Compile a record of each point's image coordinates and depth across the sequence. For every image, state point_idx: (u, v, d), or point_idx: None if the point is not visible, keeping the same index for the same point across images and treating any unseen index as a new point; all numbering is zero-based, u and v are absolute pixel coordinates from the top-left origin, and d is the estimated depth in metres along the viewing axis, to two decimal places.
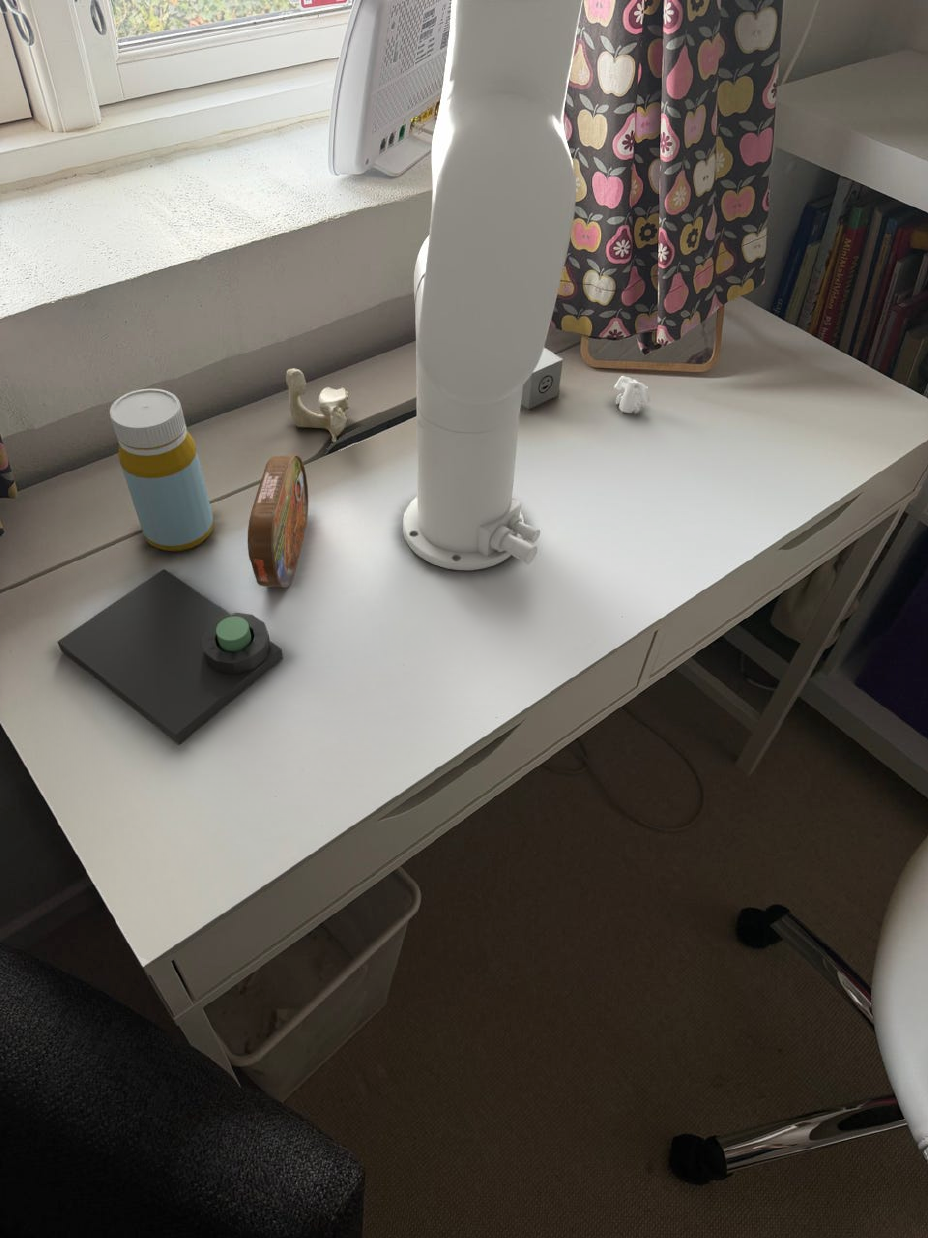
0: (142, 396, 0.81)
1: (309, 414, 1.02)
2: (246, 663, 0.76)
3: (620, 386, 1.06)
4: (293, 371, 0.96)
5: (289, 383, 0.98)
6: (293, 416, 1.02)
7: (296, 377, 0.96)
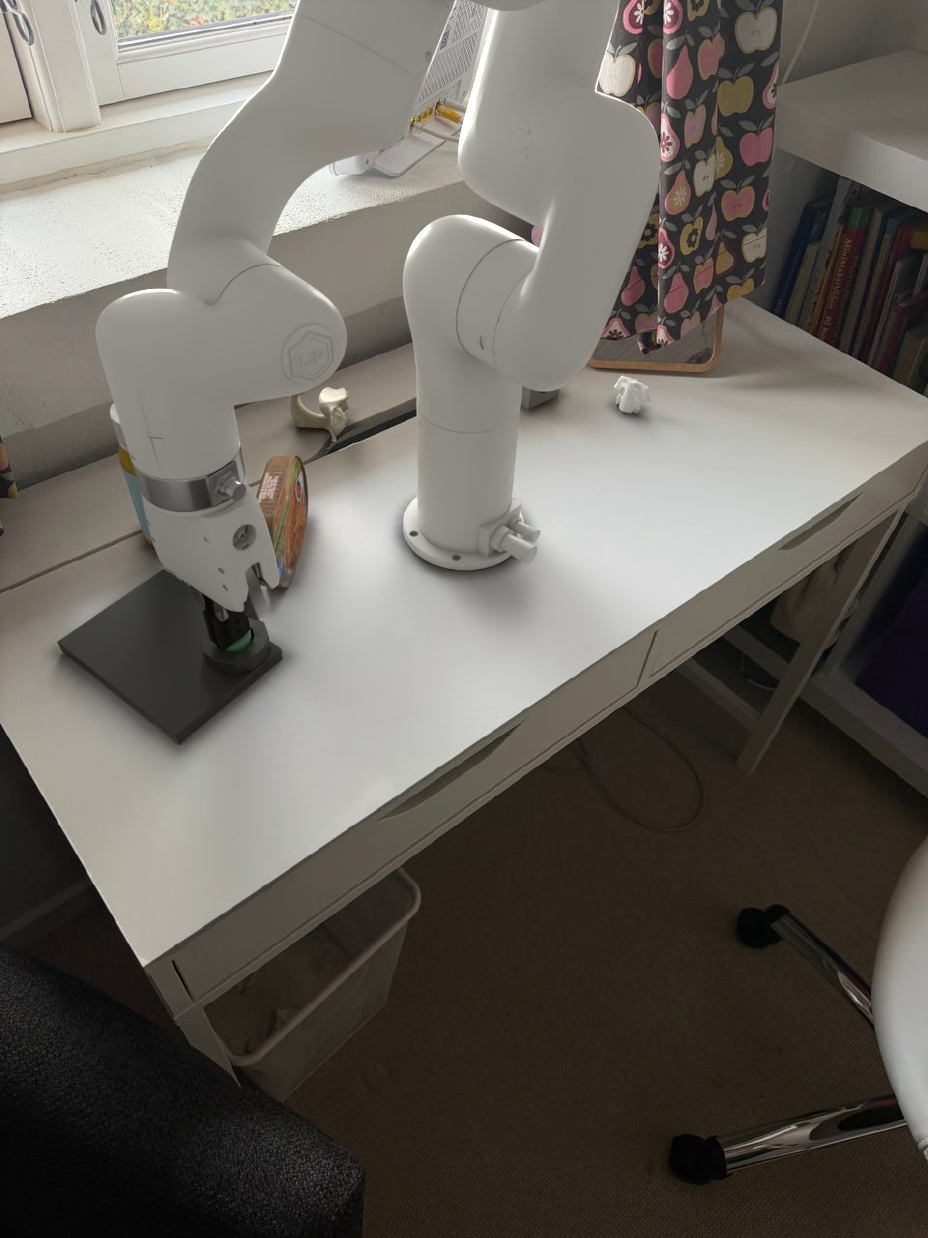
0: None
1: (309, 414, 1.02)
2: (246, 663, 0.76)
3: (620, 386, 1.06)
4: None
5: None
6: (293, 416, 1.02)
7: None
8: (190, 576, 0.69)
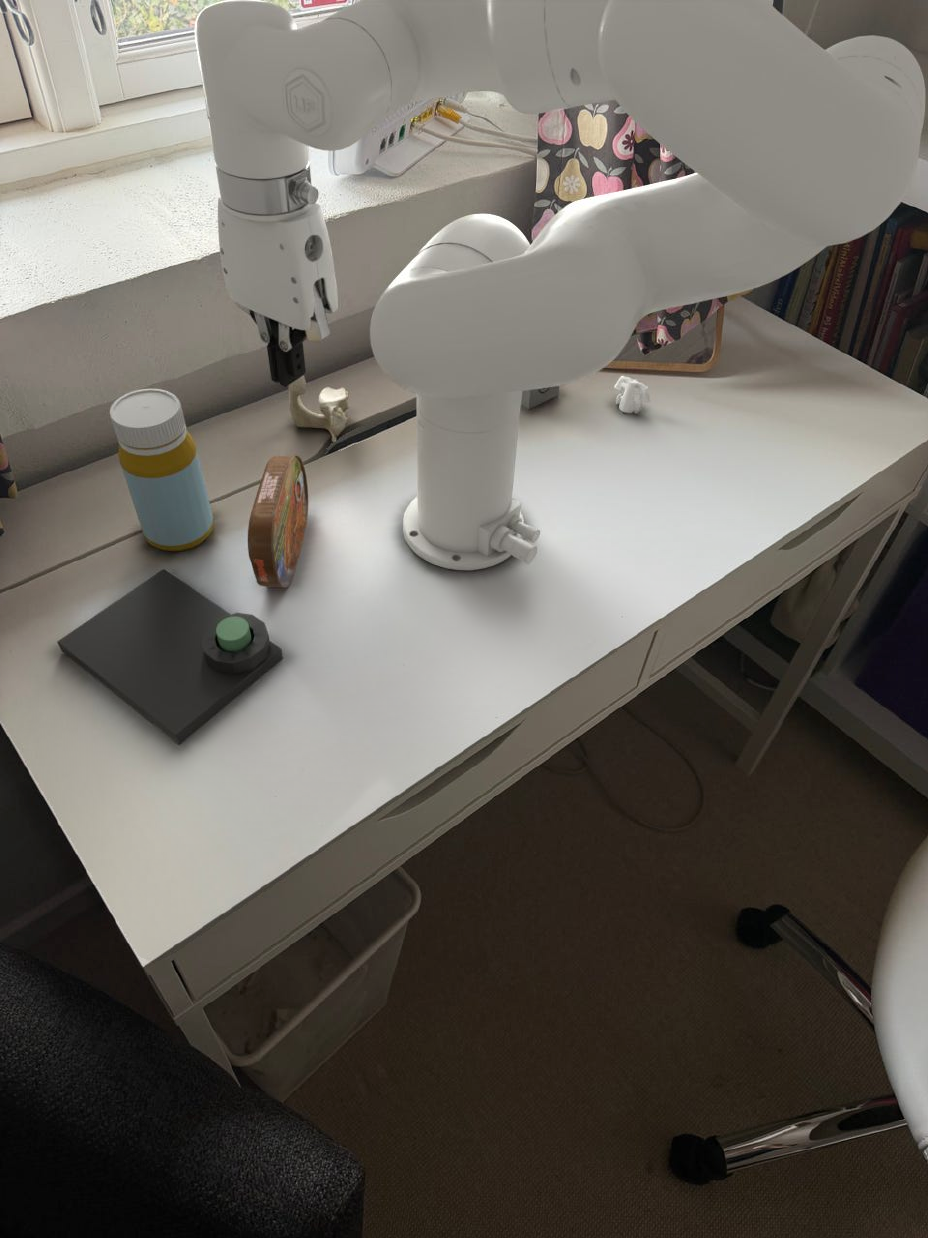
0: (142, 396, 0.81)
1: (309, 414, 1.02)
2: (246, 663, 0.76)
3: (620, 386, 1.06)
4: None
5: None
6: (293, 416, 1.02)
7: None
8: (260, 300, 0.78)
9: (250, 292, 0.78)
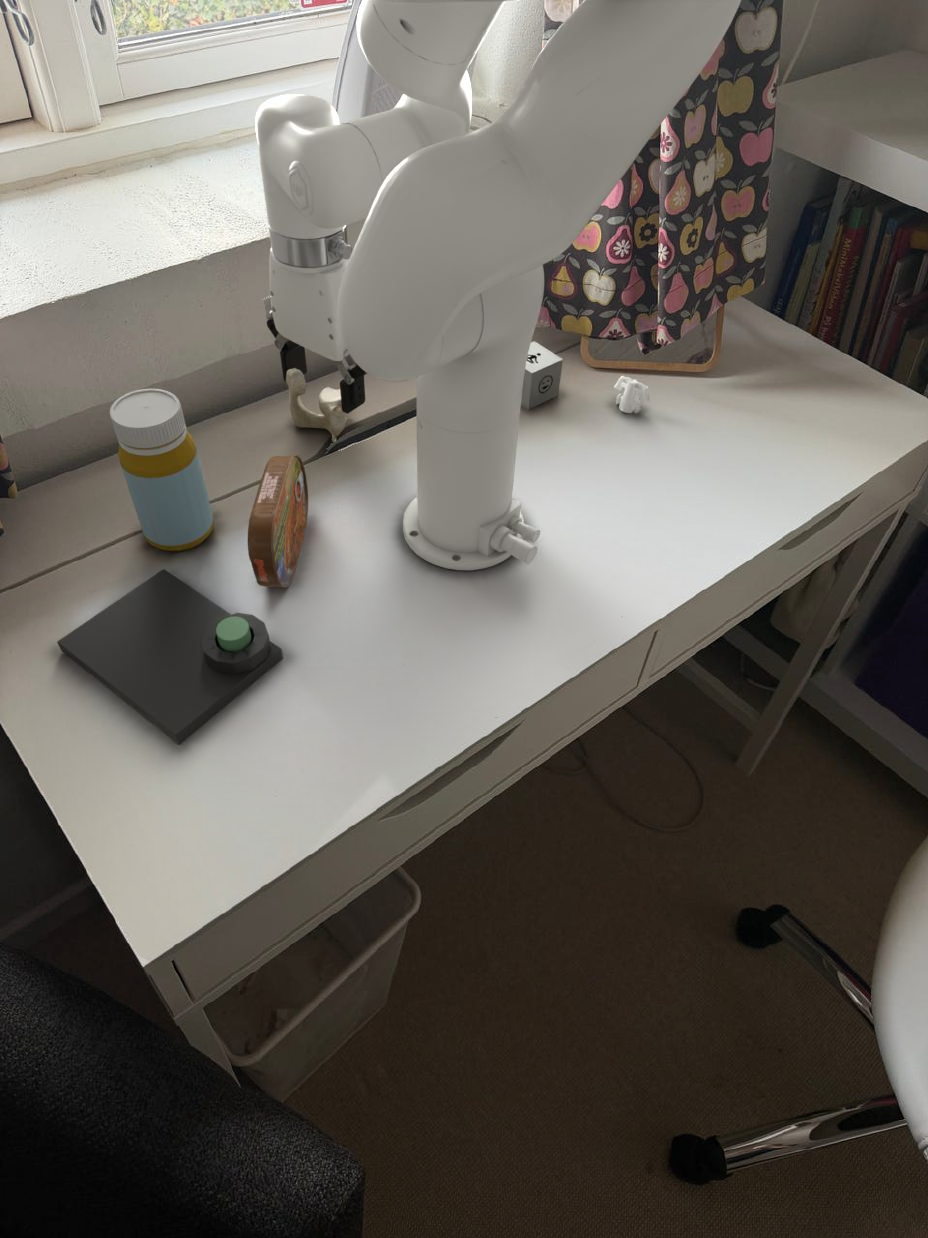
0: (142, 396, 0.81)
1: (309, 414, 1.02)
2: (246, 663, 0.76)
3: (620, 386, 1.06)
4: (293, 371, 0.96)
5: (289, 383, 0.98)
6: (293, 416, 1.02)
7: (296, 377, 0.96)
8: (302, 335, 0.92)
9: (294, 328, 0.93)
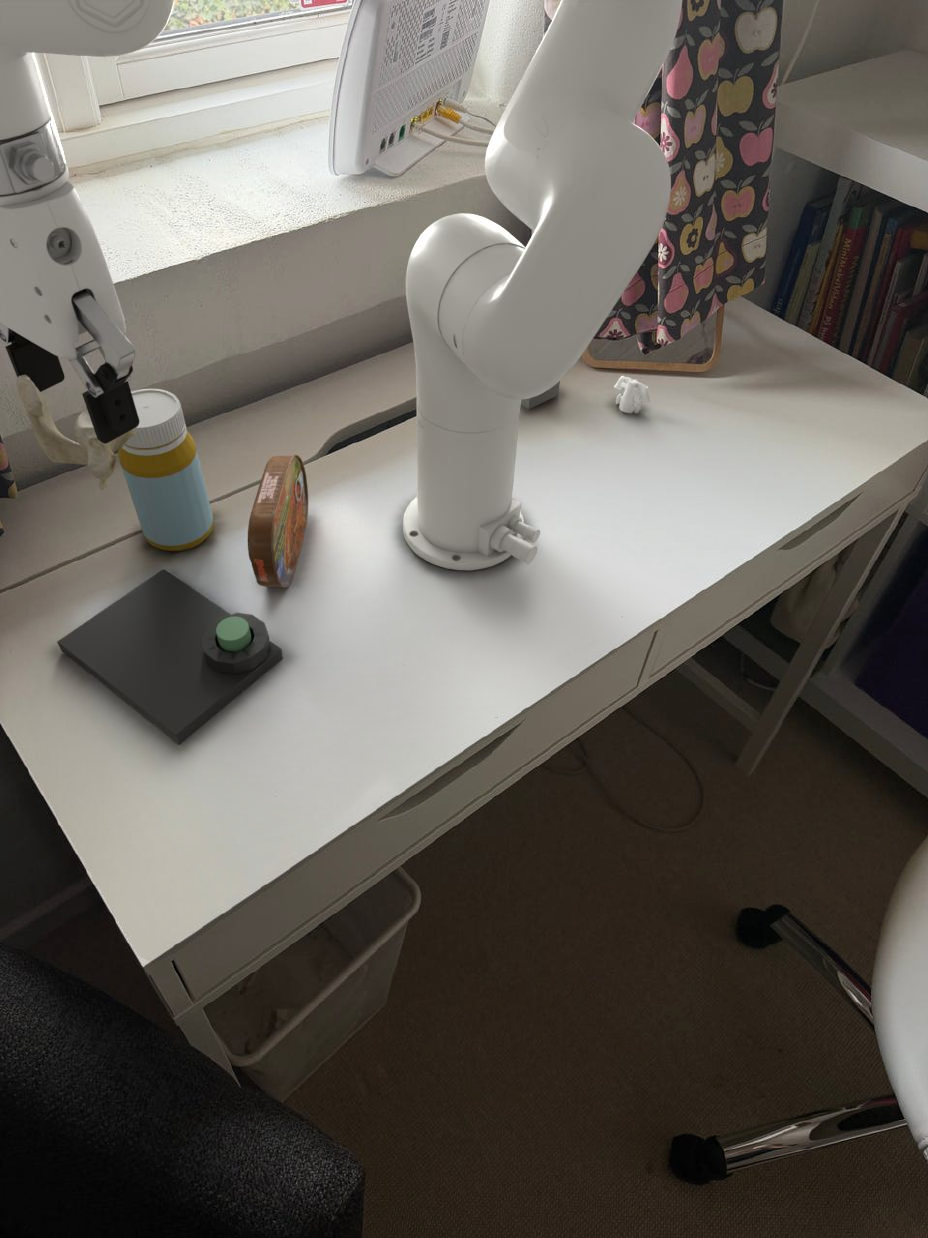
0: (142, 396, 0.81)
1: (67, 444, 0.66)
2: (246, 663, 0.76)
3: (620, 386, 1.06)
4: (20, 380, 0.60)
5: (21, 398, 0.62)
6: (42, 447, 0.66)
7: (25, 390, 0.60)
8: (14, 316, 0.57)
9: (1, 306, 0.57)
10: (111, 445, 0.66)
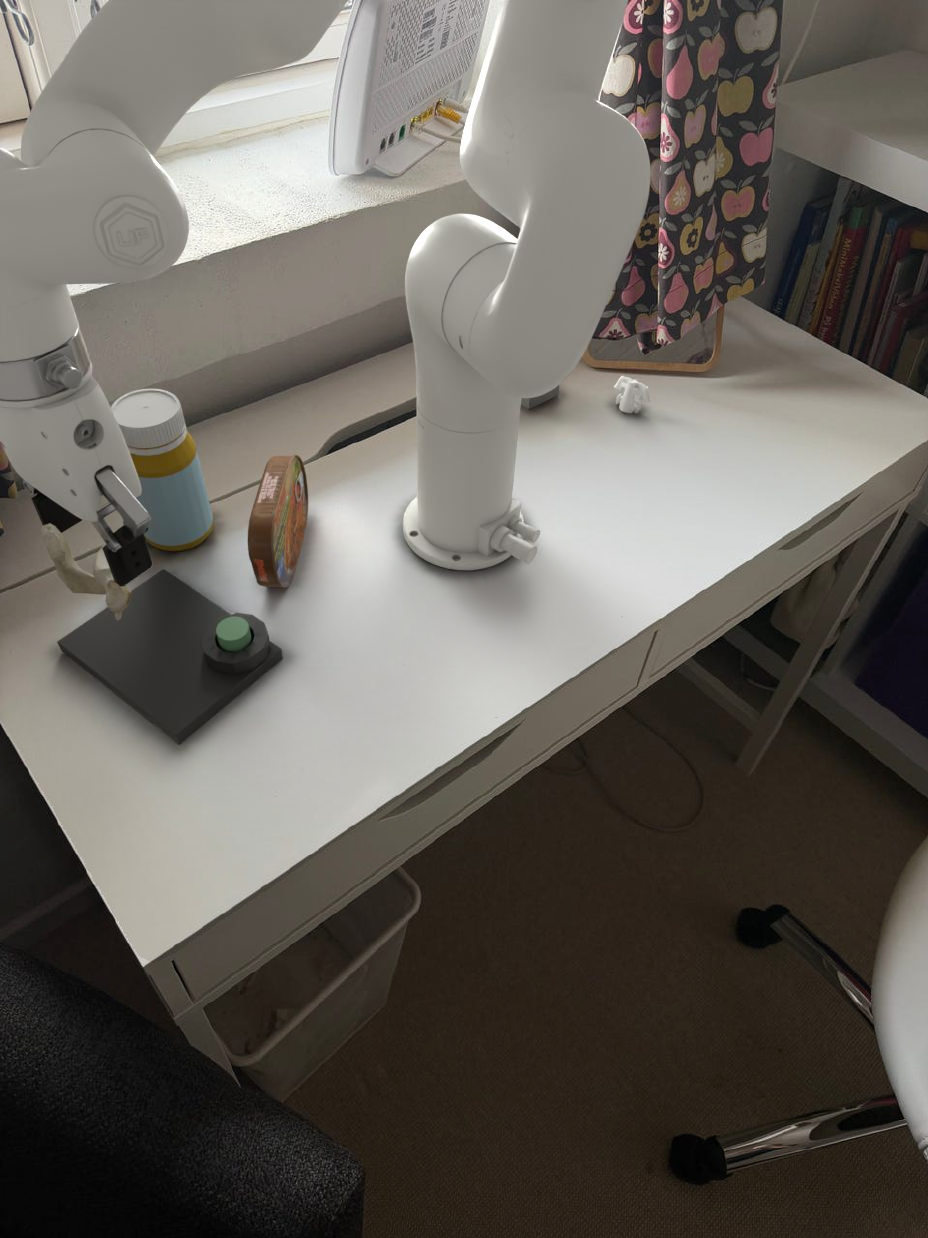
0: (142, 396, 0.81)
1: (85, 578, 0.73)
2: (246, 663, 0.76)
3: (620, 386, 1.06)
4: (45, 532, 0.67)
5: (45, 544, 0.69)
6: (63, 580, 0.73)
7: (49, 541, 0.67)
8: (41, 484, 0.63)
9: (30, 474, 0.64)
10: None
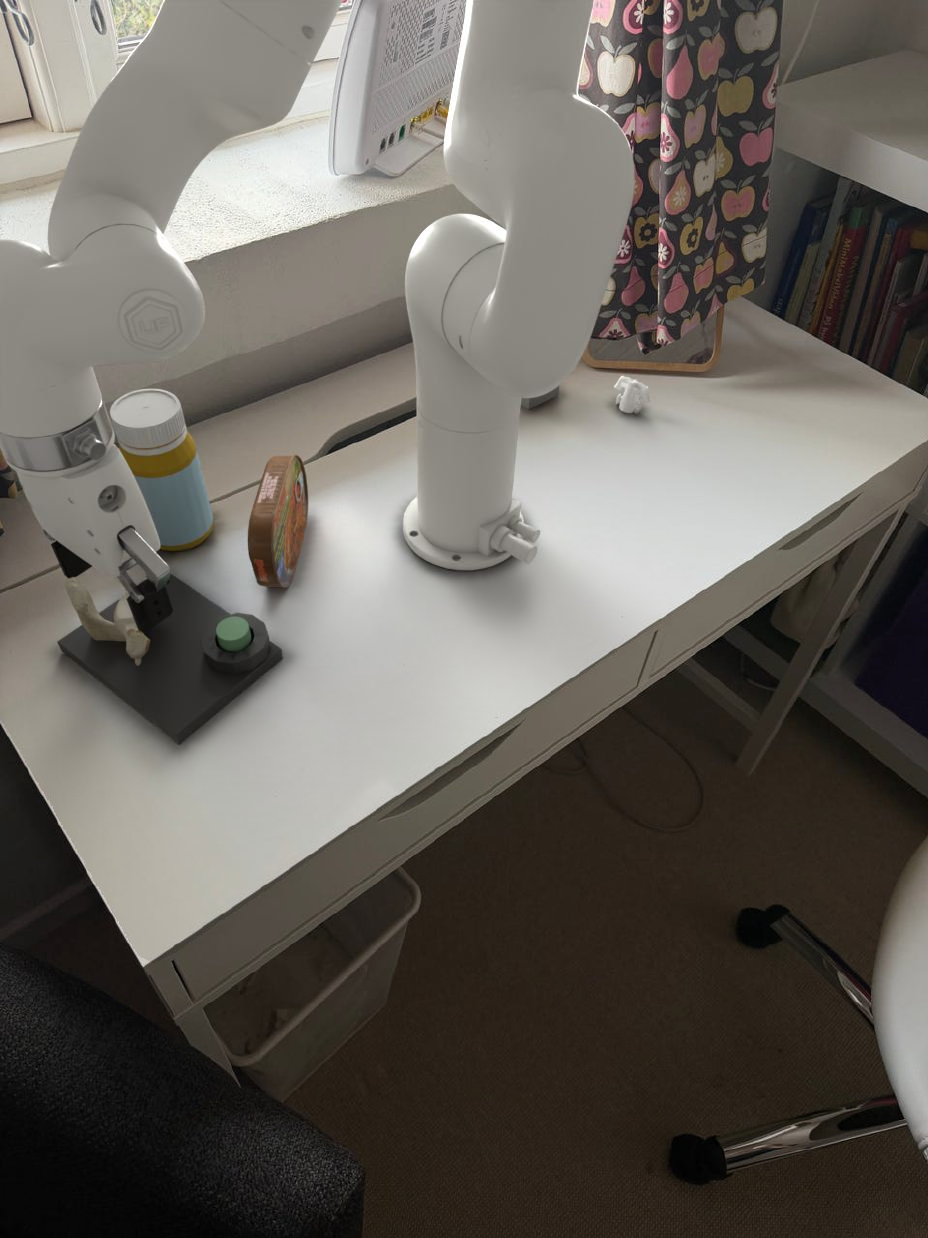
0: (142, 396, 0.81)
1: (107, 626, 0.78)
2: (246, 663, 0.76)
3: (620, 386, 1.06)
4: (69, 586, 0.72)
5: (69, 596, 0.74)
6: (86, 629, 0.77)
7: (73, 594, 0.72)
8: (67, 541, 0.68)
9: (56, 531, 0.68)
10: None
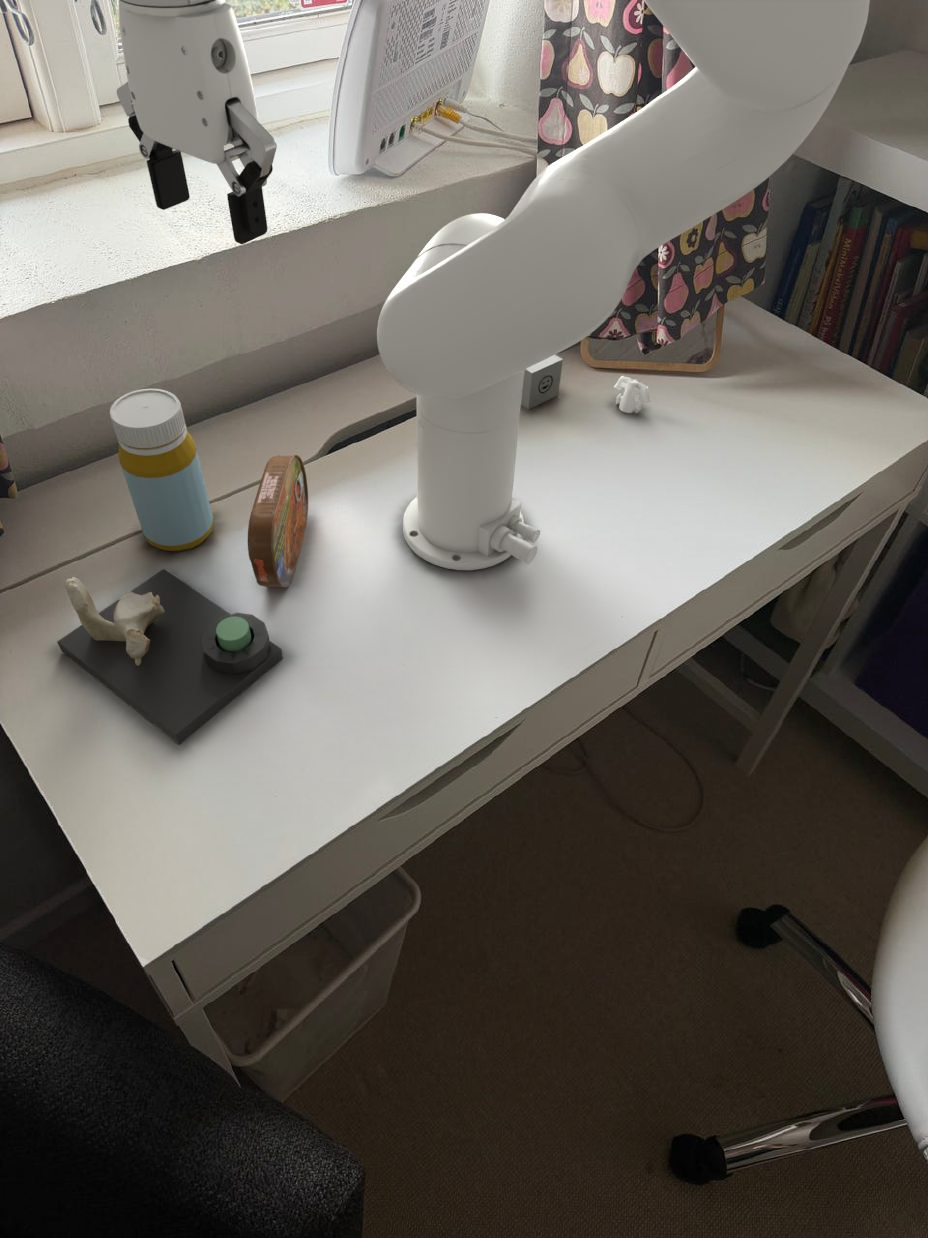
0: (142, 396, 0.81)
1: (107, 626, 0.78)
2: (246, 663, 0.76)
3: (620, 386, 1.06)
4: (69, 586, 0.72)
5: None
6: (86, 629, 0.77)
7: (73, 594, 0.72)
8: (170, 127, 0.68)
9: (159, 119, 0.68)
10: (144, 627, 0.77)
